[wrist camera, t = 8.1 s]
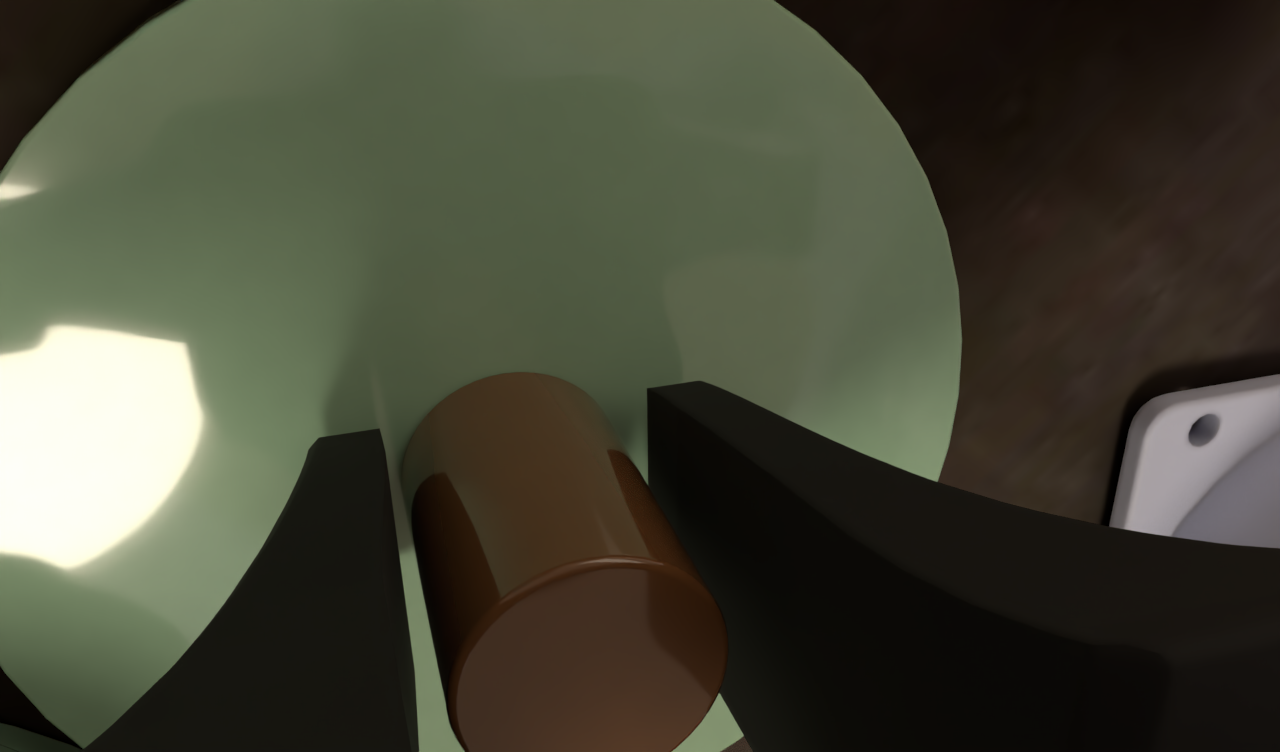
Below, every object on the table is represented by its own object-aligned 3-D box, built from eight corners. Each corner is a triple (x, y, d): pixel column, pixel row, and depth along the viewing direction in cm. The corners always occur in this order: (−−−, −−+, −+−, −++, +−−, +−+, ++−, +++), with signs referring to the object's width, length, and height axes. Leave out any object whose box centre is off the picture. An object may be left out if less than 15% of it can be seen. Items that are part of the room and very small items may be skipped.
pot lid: (964, -107, 12) (1318, -81, 8) (880, 688, 17) (1073, 954, 13) (-224, -68, 9) (-611, 2, 5) (91, 874, 14) (19, 1291, 10)
